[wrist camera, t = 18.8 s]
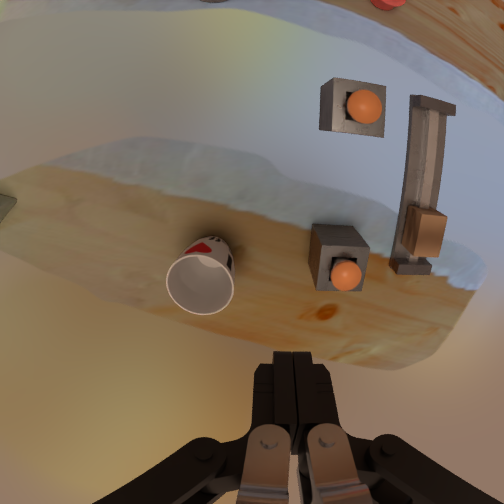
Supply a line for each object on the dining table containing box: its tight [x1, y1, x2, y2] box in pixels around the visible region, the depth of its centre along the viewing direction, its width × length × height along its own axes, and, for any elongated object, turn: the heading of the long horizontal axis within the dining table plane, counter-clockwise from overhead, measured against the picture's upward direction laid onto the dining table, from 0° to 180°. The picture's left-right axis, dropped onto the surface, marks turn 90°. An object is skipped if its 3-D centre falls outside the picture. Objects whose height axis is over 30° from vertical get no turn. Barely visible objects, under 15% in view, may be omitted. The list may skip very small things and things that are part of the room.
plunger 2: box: [346, 90, 382, 124], centre depth 28 cm, size 4×4×4 cm
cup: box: [166, 236, 235, 315], centre depth 40 cm, size 8×8×10 cm
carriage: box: [402, 205, 447, 257], centre depth 38 cm, size 6×4×4 cm
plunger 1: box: [330, 257, 362, 291], centre depth 36 cm, size 4×4×4 cm
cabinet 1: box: [319, 78, 386, 138], centre depth 32 cm, size 6×6×8 cm
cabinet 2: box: [308, 224, 370, 291], centre depth 39 cm, size 6×6×8 cm
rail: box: [389, 95, 456, 275], centre depth 37 cm, size 26×6×3 cm, turn 179°
